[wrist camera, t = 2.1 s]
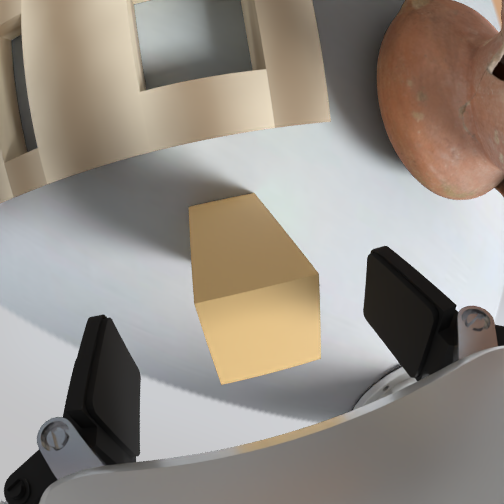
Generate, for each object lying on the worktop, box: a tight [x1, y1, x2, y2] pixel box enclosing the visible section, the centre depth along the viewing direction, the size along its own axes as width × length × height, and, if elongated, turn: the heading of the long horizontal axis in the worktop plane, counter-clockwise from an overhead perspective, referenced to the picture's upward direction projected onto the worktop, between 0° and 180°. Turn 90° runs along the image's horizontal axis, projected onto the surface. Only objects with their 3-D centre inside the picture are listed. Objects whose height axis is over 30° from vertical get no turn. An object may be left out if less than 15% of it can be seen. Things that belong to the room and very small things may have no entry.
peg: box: [189, 193, 321, 385], centre depth 15 cm, size 4×4×10 cm
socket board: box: [0, 0, 331, 203], centre depth 12 cm, size 22×12×3 cm, turn 98°
